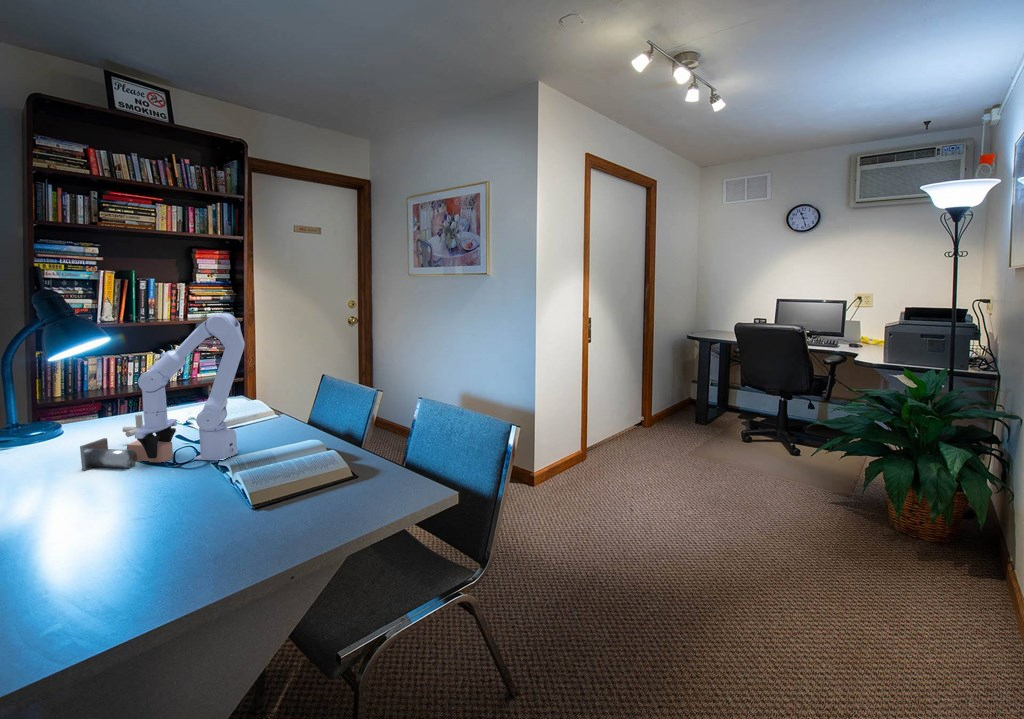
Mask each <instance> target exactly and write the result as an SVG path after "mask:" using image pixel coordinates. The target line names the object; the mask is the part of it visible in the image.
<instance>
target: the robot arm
mask: <svg viewBox="0 0 1024 719" xmlns="http://www.w3.org/2000/svg"><path fill="white" fill-rule="evenodd" d="M213 336H214V337H215V338H217V339H218V340H219V341H220V343H221V345H223V346H224V350H223V354H222V357H221V360H220V362H219V366H218V369H217V370H216V375H215V378H214V381H213V384H212V387H211V390H210V393H209V397H208V398H207V400H206V402H205V404H204V406H203V409H202V410H201V411H199V413H198V414H197V416H196V419H195V421H196V425H197V426H198V432H199V433H198V435H199V449H200V450H199V451H200V453H199V455H197V456H195V457H194V458H193V460H196V461H197V460H199V461H218V460H220V459H224V458H228V457H230V458H231V456H232V457H233V456H235V455H237V454H239V453H240V452H239V450H238V445H237V443H238V442H237V440H238V439H237V433H236V431H235V429H232V428H228V426H227V424H226V422H225V420H226V418H227V416H228V411H227V406H228V398H229V394H230V392H231V389H232V386H233V383H234V380H235V377H236V374H237V370H238V368H239V364H240V361H241V359H242V355H243V352H244V350H245V348H246V347H245V346H246V343H245V340H244V337H243V333H242V330H241V324H240V322H239V321H238V319H237V318H236V317H235V315H233V314H231V313H229V312H221V313H218V314H217V313H215V314H213V315H210V316H209V317H208V318H207V320H205V321H203V322H202V323H201V324H199V325H198V326H197V327H196V328H195V329H194V330H193V331H192V332H191V333H190V334H189V335H188V337H187V338H185V340H184V341H183V342H181V344H180V345H179V346H178V347H177V348H176V349H175V350H167V351H166V352H162V353H160V355H159V356H160V359H158V360H157V361H156V362H155V363H154V364H151V365H150V366H148V371H145V372H143V373H141V374H140V376H139V378H138V379H137V380H138V381H137V384H138V387H139V388H140V389H141V392H142V396H141V397H142V407H143V409H142V410H143V423H144V424H143V425H142V428H141V429H139V430H138V431H135V432H134V434H135V435H134V439H136V440H137V439H138V440H139V442H140V443H141V444H142V445H143V447H144V449H145V451H146V454H147V456H148V458H156V457H157V444H158V442H172V440H173V438H174V435H175V433H176V432H177V429H176V428H175V427H177V426H178V424H177V422H178V421H177V418H176V419H175V418H173V419H172V418H171V419H170V418H169V419H168V409H167V408H168V407H167V394H166V386H167V384H168V383H169V380H170V379H171V378H173V377H174V375H175V374H176V373H177V372H179V371H180V369H181V368H183V367H184V366H185V365H186V357H187V356H188V355H189V354H191V353H192V351H194V350H195V349H196V348H197V347H198V346H199V345H200V344H201V343H203V341H205V340H206V339H208V338H211V337H213ZM228 459H229V458H228Z"/></svg>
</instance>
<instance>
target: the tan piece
mask: <svg viewBox="0 0 1024 719" xmlns="http://www.w3.org/2000/svg"><path fill="white" fill-rule="evenodd" d="M126 450H134V451H135V452H136V454H137V461H136V462H141V461H149V462H148V463H161V462H164V463H166V462H168V461H170V460H173V459H174V449H173V442H172V441H171V442H158V444H157V457H156V458H148V456H147V454H146V451H145V449H144V447H143V445H142V444H141V443H140V442H139V440H138V441H137V440H136V441H133V442H130V443H128V444H126ZM141 463H142V462H141Z"/></svg>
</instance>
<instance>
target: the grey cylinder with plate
mask: <svg viewBox="0 0 1024 719" xmlns="http://www.w3.org/2000/svg"><path fill="white" fill-rule="evenodd" d="M79 450H80V459H81V460H80V462H81V471H84V472H85V471H88V470H90V469H93V468H95V467H98V468H99V467H100V468H101V467H103V468H124V469H125V468H126V469H130V468H133V466H135V465H136V462H138V461H137V454H136V452H135V451H134V450H127V449H116V448H113V449H112V448H109V443H108V437H106V438H105V437H102V438H101V439H97V440H94V441H92V442H89V443H86V444H82V445H80V446H79Z"/></svg>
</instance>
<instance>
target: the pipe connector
mask: <svg viewBox="0 0 1024 719" xmlns="http://www.w3.org/2000/svg"><path fill="white" fill-rule="evenodd" d="M134 417H135V418H134V419H135V426H123V427H122V428H121V429H122V432H123V433H125V437H127V438H129V437H130V438H131V437H134V436H135V434H134V432H135V431H138V430H139V429H141V428H142V425H144V424H143V423H144V419H143V414H142V413H140V414H135V416H134ZM136 441H138V439H137V438H136Z"/></svg>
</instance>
